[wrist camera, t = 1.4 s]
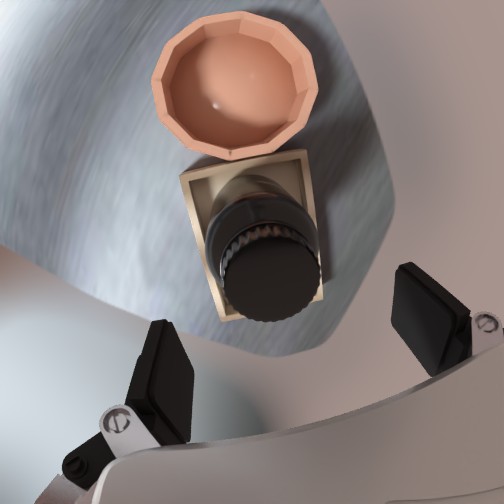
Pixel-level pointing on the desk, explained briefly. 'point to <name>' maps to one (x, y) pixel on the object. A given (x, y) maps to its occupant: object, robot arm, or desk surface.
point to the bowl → (234, 85)
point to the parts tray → (216, 176)
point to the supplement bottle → (262, 249)
